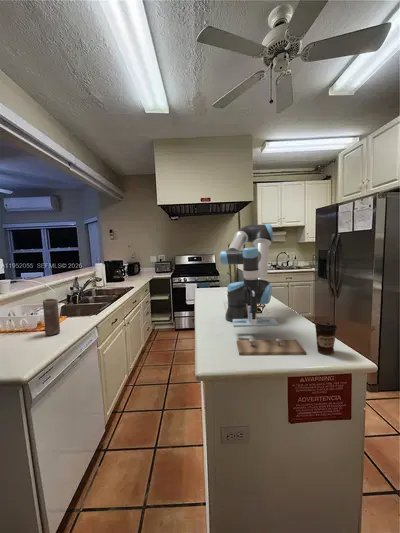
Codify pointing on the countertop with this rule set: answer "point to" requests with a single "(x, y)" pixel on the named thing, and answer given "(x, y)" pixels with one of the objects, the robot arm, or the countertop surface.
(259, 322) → the panel
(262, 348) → the boss board
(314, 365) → the countertop surface
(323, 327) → the coffee cup
